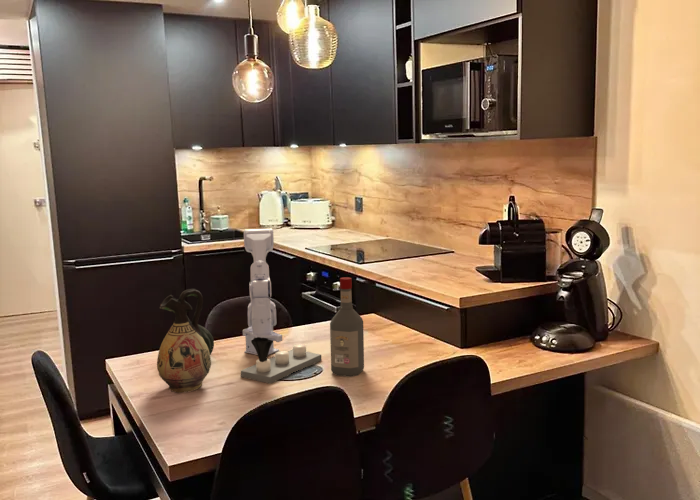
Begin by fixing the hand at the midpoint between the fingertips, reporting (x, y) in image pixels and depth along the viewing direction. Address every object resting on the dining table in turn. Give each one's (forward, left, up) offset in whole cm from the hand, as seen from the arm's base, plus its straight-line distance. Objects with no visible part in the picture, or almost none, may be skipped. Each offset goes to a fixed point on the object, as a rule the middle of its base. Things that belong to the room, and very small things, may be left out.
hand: (263, 361), depth 202 cm
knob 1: (0, 0, -5) cm, 5 cm away
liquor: (+20, +17, -5) cm, 27 cm away
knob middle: (0, +9, -5) cm, 10 cm away
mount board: (0, +9, -5) cm, 10 cm away
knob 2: (0, +18, -5) cm, 19 cm away
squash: (-31, -1, -5) cm, 31 cm away
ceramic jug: (-13, -19, -5) cm, 24 cm away
